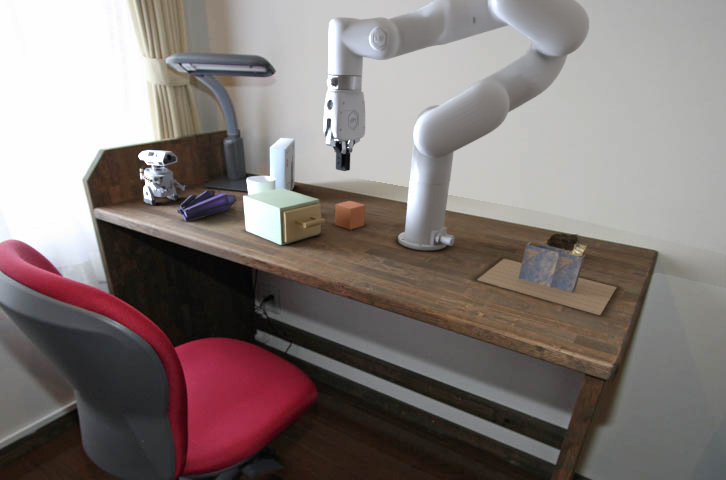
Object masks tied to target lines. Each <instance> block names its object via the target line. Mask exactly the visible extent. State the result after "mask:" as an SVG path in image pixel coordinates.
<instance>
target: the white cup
mask: <svg viewBox="0 0 726 480" xmlns="http://www.w3.org/2000/svg"><path fill="white" fill-rule="evenodd" d="M246 185H247V195H250V194H255V193H260V192H265V191H270V190H275V189H276V187H275V178H274V177H270V175H253V176H248V177H246Z"/></svg>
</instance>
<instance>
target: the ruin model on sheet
mask: <svg viewBox="0 0 726 480" xmlns="http://www.w3.org/2000/svg"><path fill="white" fill-rule="evenodd" d="M577 243H578V242H577ZM587 246H588V244H582V245H581V244H575V246H574V249H573V251H568V250H564V249H559V248H555V247H551V246H548V245H547V244H543V243H541V244H539V246H535V245H532V241H529V242H528V243H527V244H525V249H524V253H523V257H522V261H521V262H519V261H517V260H516V261H515V260H512V259H508V258H502V259H501V260H500V261H499V262H497V263H495V264H494V266H493V267H491V268H489V269H488V270H487V271H486V272H485V273H484V274H482V275H481V276H479V277H478V278H476V281H478V282H483V283H485V284H489V285H492V286H496V287H500V288H504V289H507V290H511V291H514V292H518V293H520V294H523V295H526V296H527V295H528V296H531V297H535V298H539V299H542V300H545V301H549V302H552V303H555V304H559V305H563V306H566V307H569V308H573V309H576V310H580V311H584V312H588V313H590V314H594V315H597V316H601V315H602V313H603V311H604V310H605V308H606V307H607V305H608V303H609V301H610V300H611V298H612V297H613V294H614V293H615V291H616V289H617V288H618V287H617V286H615V285H610V284H606V283H601V282H599V281H594V280H590V279H586V278H583V277H580V275H581V271H582V269H583V266H584V261H585V258H586V256H587V255H586V254H585V251H586V249H587Z"/></svg>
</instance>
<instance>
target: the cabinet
mask: <svg viewBox="0 0 726 480" xmlns="http://www.w3.org/2000/svg"><path fill="white" fill-rule="evenodd" d="M242 199H243V211H244V213H243V214H244V224H245V231H246V232H248V233H250V234H253V235H255V236H257V237H261V238H262V239H265V240H267V241H270V242H272V243H275V244H277V245H280V246H285V245H287V244H292V243H295V242H298V241H301V240H304V239H309V238H311V237H316V236H319V235H320V233H318V234H314V235H311V236H307V237H304V238H301V239H297V240H294V241H290V242H287V243H286V242H284V241H283V218H282V212H283V211H285V210H289V209H294V208H298V207H302V206H306V205H311V204H312V205H314V204H320V199H319V198H317V197H312V196H309V195H305V194H303V193H299V192H296V191H293V190H292V191H290V190H286V189H283V188H281V189H275V190H270V191H265V192H260V193H255V194H250V195H248V194H246V195H242Z"/></svg>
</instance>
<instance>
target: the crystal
mask: <svg viewBox="0 0 726 480" xmlns="http://www.w3.org/2000/svg"><path fill="white" fill-rule="evenodd" d="M235 202H237V198H236V195H234V194H229V193H227V192H224V191H223V192H219V193H217V194H216V190H205V191H203V192H202V193H199V195H197V194H191V195H189V196H188V197H187V198H186V199H185V200H184V201H183V202H181V204H180V205H179V206H180V207H179V208H177V209H176V211H177V213H178V214H179V215H181V216H182V219H183V220H184V221H185V222H188V221H193V220H196V219H199V218H203V217H207V216H210V215H214V214H218V213H222V212H226V211H229V210H230V208H231V207H233V205H234V204H235Z"/></svg>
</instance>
